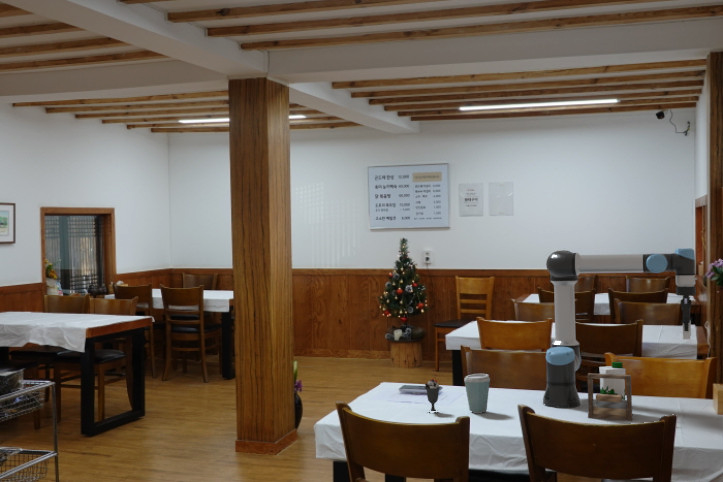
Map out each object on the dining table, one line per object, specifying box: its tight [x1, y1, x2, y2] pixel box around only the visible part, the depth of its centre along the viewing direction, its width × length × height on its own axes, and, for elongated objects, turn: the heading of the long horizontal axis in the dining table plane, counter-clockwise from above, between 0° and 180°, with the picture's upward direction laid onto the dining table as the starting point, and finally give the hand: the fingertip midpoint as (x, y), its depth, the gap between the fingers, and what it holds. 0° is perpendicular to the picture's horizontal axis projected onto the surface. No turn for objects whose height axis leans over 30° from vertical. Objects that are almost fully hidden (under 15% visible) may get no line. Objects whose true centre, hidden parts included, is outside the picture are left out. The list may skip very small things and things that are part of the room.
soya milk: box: [598, 361, 627, 400], centre depth 304 cm, size 9×9×20 cm
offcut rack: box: [587, 372, 634, 422], centre depth 295 cm, size 16×6×17 cm, turn 66°
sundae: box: [424, 374, 441, 411], centre depth 312 cm, size 7×7×15 cm
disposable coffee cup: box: [463, 373, 491, 414], centre depth 311 cm, size 11×11×15 cm
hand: (687, 337), depth 315 cm, fingers open, 13 cm apart
